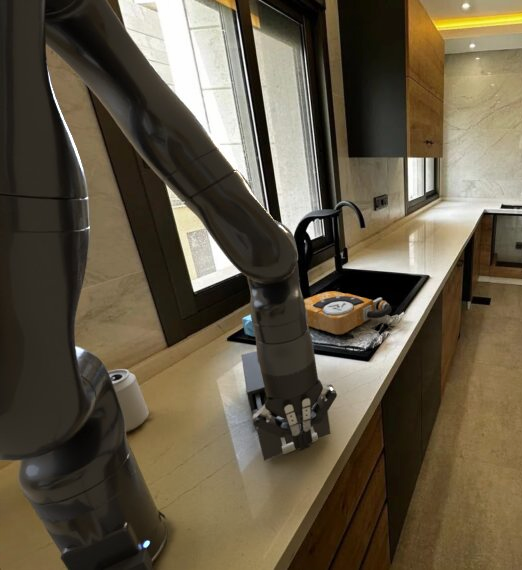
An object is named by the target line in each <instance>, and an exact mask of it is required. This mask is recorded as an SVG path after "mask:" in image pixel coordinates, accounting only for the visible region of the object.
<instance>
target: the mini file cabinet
mask: <svg viewBox="0 0 522 570" xmlns="http://www.w3.org/2000/svg"><path fill="white" fill-rule="evenodd" d="M265 396H266V392H265V390H264V391H261V392H258V393H255V397H256V403H257V408H258V410H259V409H260V408H261V407H262V406H263V405H264V398H265ZM319 397H320V396H319ZM319 397H318V399H319ZM318 399H317V401H318ZM317 401H316V402H317ZM315 404H316V403H315ZM315 404H314V406H315ZM314 406H313V407H314ZM313 407H312V409H313ZM312 409H311V410H312ZM328 411H329V410H328ZM328 411H327V413H326V415H325V416H324V418H323V419H322V421H321V422H320V423H319V424H314V425H313V426H312V427H311V434H312V443H311V444H313V443H315V442H317V441H319V439H322V438H324V437H327V436H329V435H331V428H330V427H331V425H330V419H329V412H328ZM270 413H271V416H274V417H276V418H278V419H280V420H282V421H284V422H285V423H287V422H288V419H287V418H282V417H280V416H278V417H277V415H276V414H274V413H272V412H270ZM296 419H297V422H298V425H299V424H301V423H300V415H298V416H296ZM255 430H256V433H257V437H258V441H259V446H260V450H261V454H262V458H263V461H267V460H270V459H273V458H275V457H277V456H280V455H285V454H288V453H290V452H293V451H295V450H297V449H296V448H295V447H294V443H293V439H292V435H287V436H286V437H283V438H281V437H279V436H276V435H274V434H272V433H269V432H267V431H265V430H262V429H260V428H258V427H256V429H255Z"/></svg>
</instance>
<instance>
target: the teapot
mask: <svg viewBox="0 0 522 570" xmlns="http://www.w3.org/2000/svg"><path fill="white" fill-rule="evenodd" d="M241 320H242V325H243V330H244V334H245V335H247V336H251V337H255V333H254V328H253V324H252V320H251V314H249V315H246V316H244V317H242V318H241ZM255 338H256V337H255Z"/></svg>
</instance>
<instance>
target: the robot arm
mask: <svg viewBox="0 0 522 570" xmlns="http://www.w3.org/2000/svg"><path fill="white" fill-rule="evenodd" d="M47 47H48V48H49V49H50V50H51V51H52V52H53V53H54V54H55V55H57V56H58V57H59V58H60V59H61V60H62V61H63V62H64V63H65V64H66V65H67V66H68V67H69V68H70V69H71V70H72V71H73V72H74V73H75V74H76V75H77V76H78V77H79V79H80V80H81V81H82V82H83V83H84V84H85V86H87V88H89V90H90V91H91V92H92V94H93V95H94V96H95V97H96V98H97V99H98V100H99V102H100V103H101V104H102V106H103V107H104V108H105V110H106V111H107V112H108V113H109V114H110V116H111V117H112V119H113V120H114V122H115V124H117V127H119V129H120V131H121V132H122V134H123V135H124V136H125V138H126V139H127V141H128V142H129V143H130V144H131V146H132V147H133V148H134V150H135V151H136V152H137V153H138V155H139V156H140V158H142V160H143V161H144V162H145V163H146V164H147V166H148V167H149V168H150V169H151V170H152V171H153V173H154V174H156V175H157V177H158V178H159V179H160V180H161V181H162V182H163V183H164V184H165V185H166V186H167V187H168V189H169V190H171V191H172V193H173V194H174V195H175V196H176V197H177V198H178V199H179V200H180V201H181V202H182V203H183V204H184V206H186V207H187V208H188V209H189V210H190V211H191V212H192V213H193V214H194V215H195V216H196V217H197V218H198V220H199V221H200V222H201V223H202V224H203V225H202V226H204V228H205V229H206V230H207V232H208V234H209V235H210V236H211V238H212V239H213V241H214V242H215V244H216V245H217V246H218V248H219V249H220V250H221V252H222V253H223V255H224V256H225V257H226V258H227V259H228V261H229V262H230V263H231V264H232V265H233V266H234V267H235V268H236V269H237V271H239V272H240V273H241V274H242V275H244V277H246V280H247V284H248V286H249V287H248V289H249V292H250V293H249V294H250V299H249V300H250V301H249V313H250V314H251V320H252V324H253V328H254V333H255V345H256V349H255V351H257V356H258V362H259V365H260V370H261V374H262V378H263V383H264V387H265V392H266V396H265V398H264V405H263V406H262V407H261V408H260V409H259V410H258V409H256V410H254V411H253V412H251V417H252V418H251V419H252V424H253V426H254V428H255V427H258V428H260V429H262V430H265V431H267V432H269V433H272V434H274V435H276V436H279V437H281V438H283V437H286V436H287V435H292V439H293V443H294V447H295V448H296V450H298V449H299V452H302V451H304V450H307V449H309V448H310V445H311V444H313V443H312V434H311V427H312V426H313V425H314V424H319V423H320V422H321V421H322V419H323V418H324V416H325V415H326V413H327V411H329V410H330V408H331V407H332V405H333V403H334V402H335V400H336V398H337V397H338V394H337V392H336V389H335V387H334V386H333V385H332V384H328V385H323V384H322V381H321V380H320V379H319V376H318V370H317V362H316V356H315V349H314V342H313V338H312V334H311V330H310V326H308V320H307V313H306V308H305V303H304V300H305V298H304V296H303V293H302V290H301V289H302V288H301V283H300V273H299V263H298V261H299V252H298V247H297V243H296V239H295V236H294V235H293V232H291V230H290V229H289V228H288V227H287V226H286V225H285V224H283V223H281V222H280V221H278V220H275V219H274V217H272V215H271V214H270V213H269V212H268V210H266V208H265V207H264V206H263V205H262V203H261V202H260V201H259V200H258V198H257V197H256V195H255V193H254V191H253V189H252V187H251V185H250V183H249V181H248V180H247V178H246V177H245V175H244V174H243V173H242V172H241V170H239V168H238V166H237V165H236V164H235V163H234V161H233V160H232V159H231V158H230V156H229V155H228V154H227V153H226V151H225V150H224V149H223V148H222V146H221V145H220V144H219V143H218V141H217V140H216V138H214V136H213V135H212V134H211V133H210V131H208V129H207V128H206V127H205V125H203V124H202V122H201V121H200V119H198V117H197V116H196V115H195V114H194V113H193V112H192V111H191V110H190V109H189V107H188V106H187V105H186V104H185V103H184V102H183V100H181V98H180V97H179V96H178V94H176V93H175V91H174V90H173V88H171V86H170V85H169V84H168V83H167V82H166V81H165V79H163V77H162V76H161V74H159V72H158V71H157V69H155V67H154V66H153V65H152V64H151V62H150V60H149V59H148V58H147V57H146V56H145V54H144V52H143V51H142V50H141V48H139V45H137V43H136V42H135V41H134V39H133V38H132V36H131V35H130V33H129V32H128V31H127V29H126V27H125V26H124V24H123V23H122V21H121V20H120V18H119V16H118V15H117V13H116V12H115V11H114V9H113V8H112V6H111V4H110V3H109V1H108V0H0V460H1V461H13V462H15V461H19V465H18V471H17V484H18V486H19V489H20V490H21V492H22V493H23V495H24V497H25V499H26V500H27V501H28V503H29V504H30V505H31V507H32V509H33V510H34V513H36V515H37V517H38V519H39V520H40V522H41V523H42V525H43V527H44V529H45V530H46V531H47V533H48V534H49V536H50V537H51V539H52V541H53V543H54V544H55V546H56V547H57V549H58V550H59V552H60V553H61V554H60V560H61V561H62V563H63V564H64V567H65V568H66V569H67V570H152V568H153V564H154V562H156V560H157V559H158V557H159V556H160V555H161V553H162V551H163V550H164V548H165V547H166V543H167V540H168V528H167V526H166V523H165V522H164V521H163V519H164V520H167V518H166V515H165V514H164V513H163V512H161V511H160V510H159V509H158V507H157V505H156V503H155V500H154V498H153V495H152V494H151V491H150V490H149V486H148V484H147V482H146V480H145V477H144V475H143V473H142V469H141V468H140V466H139V464H138V461H137V458H136V456H135V453H134V452H133V450H132V447H131V445H130V442H129V440H128V436H127V432H126V424H125V417H124V414H123V410H122V408H121V405H120V402H119V399H118V396H117V394H116V391H115V388H114V386H113V383H112V380H111V378H110V375H109V373H108V371H109V370H107V368H106V366H105V364H104V363H103V362H102V360H101V359H100V358H99V357H98V356H97V355H96V354H94V353H93V352H92V351H89V349H86V348H84V347H81V346H78V345H76V337H75V322H76V315H77V310H78V306H79V301H80V297H81V293H82V288H83V286H84V280H85V275H86V270H87V265H88V259H89V254H90V253H89V252H90V242H91V241H90V240H91V221H90V206H89V205H90V203H89V191H88V184H87V179H86V174H85V170H84V167H83V164H82V161H81V158H80V155H79V152H78V149H77V146H76V144H75V142H74V138H73V136H72V134H71V132H70V130H69V127H68V125H67V122H66V121H65V119H64V116H63V113H62V111H61V109H60V106H59V104H58V100H57V99H56V96H55V92H54V90H53V89H54V88H53V85H52V83H51V78H50V73H49V68H48V57H47ZM250 314H249V315H250ZM318 397H319V399H318ZM317 399H318V401H317ZM316 401H317V402H316ZM315 403H316V404H315ZM314 404H315V406H314ZM313 406H314V407H313ZM312 407H313V409H312ZM311 409H312V410H311ZM270 412H272V413H274V414H276V415H278V416H280V417H282V418H287V419H288V422H287V423H285V422H284V421H282V420H280V419H278V418H276V417H274V416H271V413H270ZM298 415H300V423H301V424H299V425H298V422H297V419H296V416H298ZM162 518H163V519H162Z"/></svg>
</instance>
